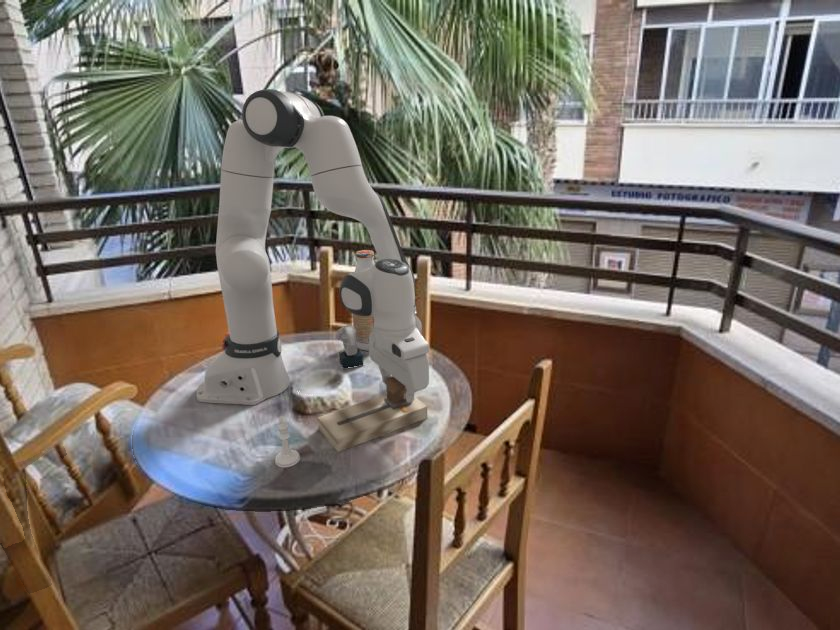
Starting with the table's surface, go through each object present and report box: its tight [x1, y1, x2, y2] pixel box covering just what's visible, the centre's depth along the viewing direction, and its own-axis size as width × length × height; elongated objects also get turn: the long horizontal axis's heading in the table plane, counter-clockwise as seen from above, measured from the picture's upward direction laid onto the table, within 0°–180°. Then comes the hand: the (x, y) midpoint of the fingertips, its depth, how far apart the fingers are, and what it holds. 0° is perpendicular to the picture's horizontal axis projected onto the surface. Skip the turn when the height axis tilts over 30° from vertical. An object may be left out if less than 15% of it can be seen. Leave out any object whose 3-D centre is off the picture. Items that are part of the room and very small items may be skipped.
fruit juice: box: [352, 249, 376, 352], centre depth 152 cm, size 9×9×28 cm
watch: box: [336, 324, 364, 369], centre depth 144 cm, size 6×8×11 cm
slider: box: [384, 375, 412, 409], centre depth 120 cm, size 5×4×6 cm
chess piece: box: [274, 416, 301, 468], centre depth 106 cm, size 5×5×10 cm
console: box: [317, 393, 428, 453], centre depth 119 cm, size 22×10×3 cm, turn 123°
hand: (397, 391), depth 120 cm, fingers open, 8 cm apart
